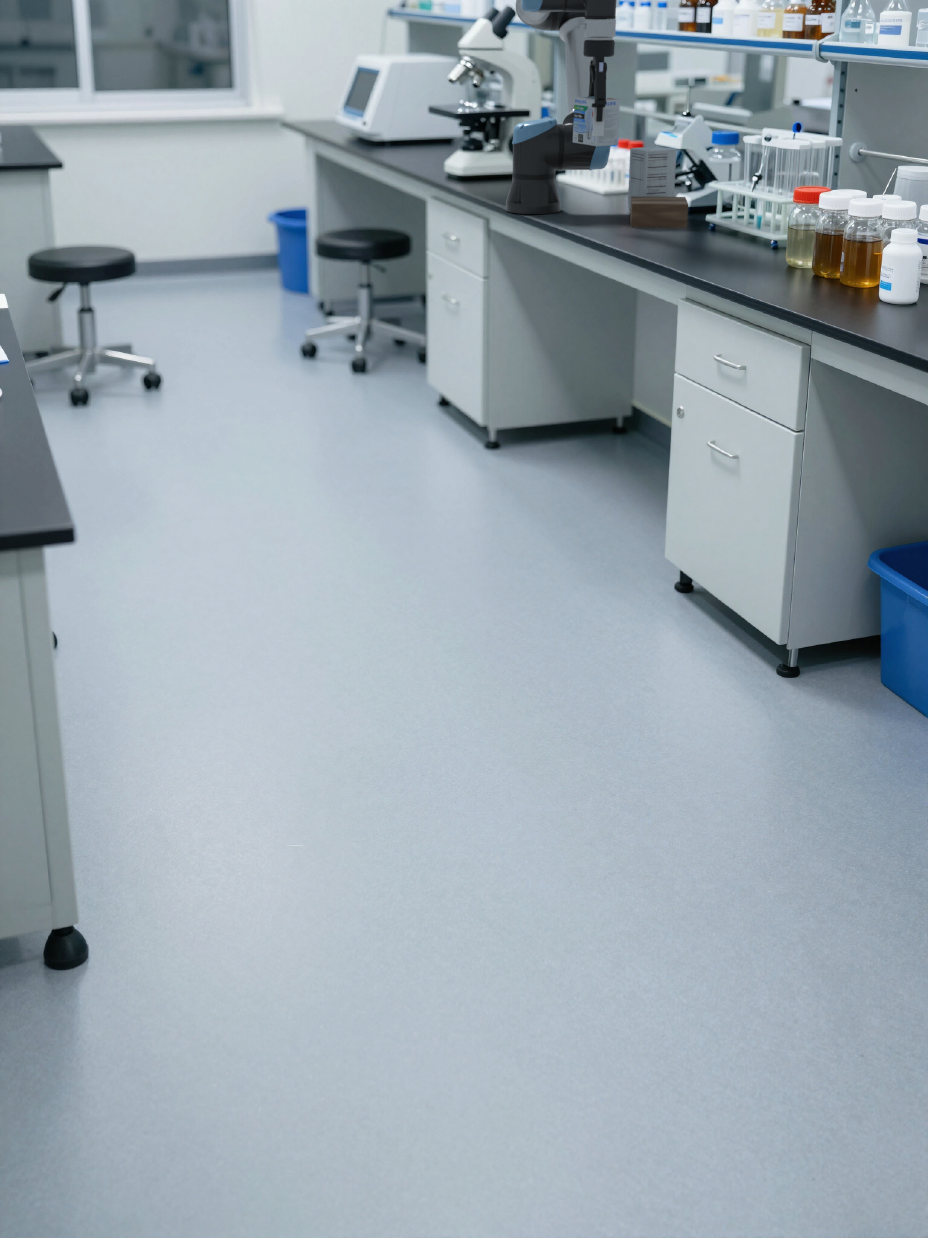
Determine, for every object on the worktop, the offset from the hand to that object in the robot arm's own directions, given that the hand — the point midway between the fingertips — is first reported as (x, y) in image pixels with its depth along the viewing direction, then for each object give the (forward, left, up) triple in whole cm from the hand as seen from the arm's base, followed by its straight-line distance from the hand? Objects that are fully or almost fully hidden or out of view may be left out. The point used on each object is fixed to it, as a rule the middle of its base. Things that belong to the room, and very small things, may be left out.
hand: (595, 133), depth 318 cm
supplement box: (-15, +17, -22) cm, 32 cm away
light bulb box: (0, 0, -3) cm, 3 cm away
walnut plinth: (0, +17, -22) cm, 28 cm away
